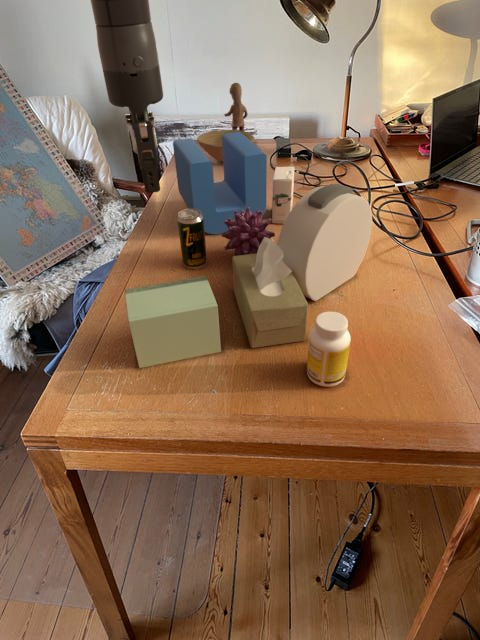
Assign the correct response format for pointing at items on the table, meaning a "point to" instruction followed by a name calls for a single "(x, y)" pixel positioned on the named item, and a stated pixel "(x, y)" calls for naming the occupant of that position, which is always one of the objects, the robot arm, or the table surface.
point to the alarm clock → (325, 238)
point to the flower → (246, 232)
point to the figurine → (237, 108)
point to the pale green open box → (173, 321)
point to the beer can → (192, 238)
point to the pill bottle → (328, 349)
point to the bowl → (217, 142)
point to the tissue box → (269, 297)
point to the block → (233, 192)
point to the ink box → (282, 194)
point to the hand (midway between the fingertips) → (150, 180)
